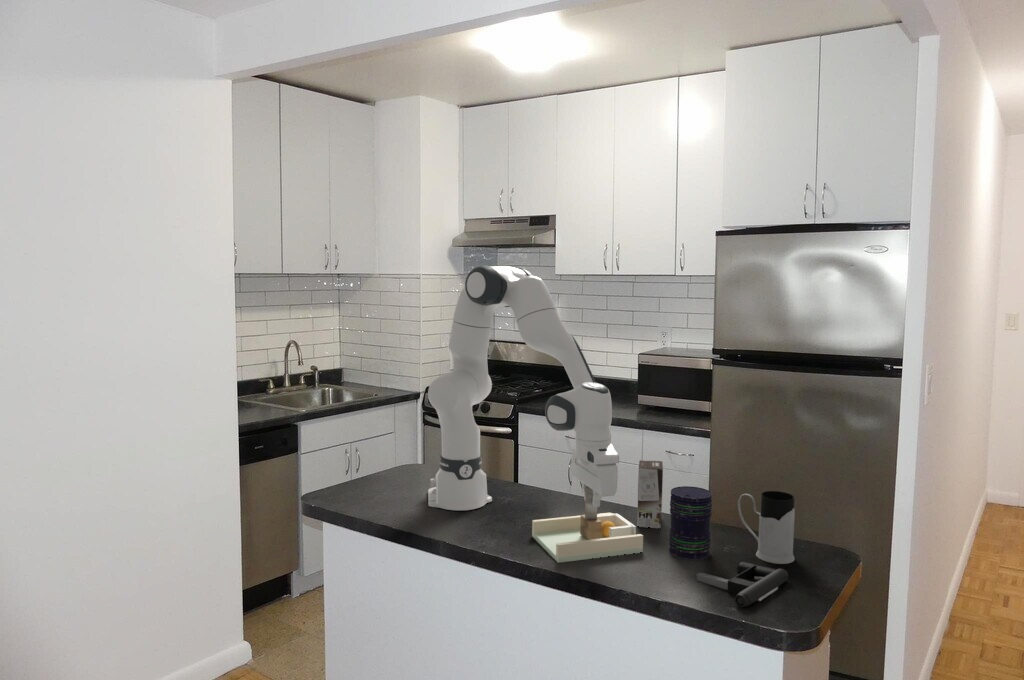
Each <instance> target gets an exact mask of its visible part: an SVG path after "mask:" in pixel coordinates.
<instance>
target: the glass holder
mask: <svg viewBox="0 0 1024 680" xmlns="http://www.w3.org/2000/svg"><path fill="white" fill-rule="evenodd" d="M760 495H761V496H760V512H759V511H757V504H756V503H757V502H756V499H755V498H754V497H753V495H752V494H749V493H743V494H741V495H740V496H739V497H738V500H737V510H738V515H739V518H740V519H741V522H742V524H743V525H744V526H745V528H746V529H747V531H748V532H749V533H750V534H751V535H752V536H753V537H754V539H755V540H756V541H757V545H758V546H757V551H756V553H755V556H756V557H757V558H758V559H759V560H762V561H763V562H767V563H771V564H776V565H777V564H778V565H782V564H783V565H785V564H786V565H787V564H790V563H793V562H794V561H795V560H796V559H795V556H794V536H795V534H794V533H795V512H796V509H795V496H794V495H793V494H792V493H787V492H785V491H779V490H778V491H776V490H768V491H762V492H761V494H760ZM743 496H748V498H750V499H751V500H752V503H753V511H754V513H755V514H757V515H759V516H758V517H759V518H758V519H759V521H758V523H759V524H758V536H757V535H756V533H755V532H754V531H753V530H752V529H751V528H750V527H749V525H748V524H747V522H746V521H745V519H744V517H743V514H742V510H741V498H742V497H743Z"/></svg>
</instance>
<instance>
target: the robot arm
mask: <svg viewBox="0 0 1024 680" xmlns="http://www.w3.org/2000/svg"><path fill="white" fill-rule="evenodd" d="M502 307H504V308H510V309H511V310H512V312H513V315H514V318H515V322H516V324H517V328H518V331H519V334H520V337H521V338H522V340H523V342H524V344H525V345H526V346H528V347H529V348H531V349H533V350H535V351H537V352H540V353H542V354H546V355H548V356H551V357H552V358H554V359H556V360H557V361H559V362H560V363H561V365H563V367H564V370H565V372H566V374H567V377H568V378H569V381H570V383H571V384H572V387H573V388H572V389H571V390H568V391H565V392H560V393H557V394H555V395H551V396H550V397H549V398H548V399H547V401H546V403H545V409H544V414H545V420H546V421H547V424H548V425H549V426H550V427H551V428H552V429H553V430H555V431H557V432H558V431H559V432H567V431H573V432H574V433H575V438H574V439H575V440H574V443H575V444H574V447H575V448H574V449H573V450H572V454H571V460H570V461H571V463H570V473H571V476H572V477H573V478H575V479H576V480H578V481H579V482H581V488H582V492H583V500H584V501H585V490H586V486H588V487H589V488H591V489H592V490H593V494H594V495H593V499H591V505H592V506H593V507H597V508H600V507H601V499H602V497H604V498H606V497H614V496H616V494H617V491H618V490H617V489H618V482H619V481H618V479H619V474H618V473H619V471H618V464H619V463H620V455H619V453H618V452H617V450H616V449H615V447H614V445H613V443H612V434H611V424H612V422H613V421H612V419H613V406H612V405H613V404H612V403H613V402H612V397H611V396H612V395H611V392H610V390H609V388H608V387H607V386H606V385H604V384H602V383H599V382H597V381H596V378H595V377H594V375H593V373H592V371H591V369H590V366H589V365H588V361H587V360H586V357H585V355H584V354H583V351H582V350H581V347H580V345H579V344H578V342H577V340H576V339H575V337H574V336H573V335H572V334H571V333H570V332H569V331H568V329H567V328H566V327H565V325H564V323H563V320H561V317H560V316H559V313H558V310H557V307H556V304H555V301H554V299H553V296H552V295H551V293H550V290H549V288H548V287H547V285H546V283H545V281H544V280H543V279H542V278H540V277H538V276H535V275H533V274H532V273H531V272H530V271H528V270H527V269H523V268H522V267H513V266H510V265H509V266H508V265H492V266H490V265H480V266H477V267H474V268H472V269H471V270H470V271H469V273H468V274H467V275H466V278H465V282H464V287H463V288H462V289H461V290H460V293H459V296H458V299H457V301H456V306H455V309H454V313H453V318H452V326H451V331H450V336H449V342H448V343H449V344H448V348H449V350H450V352H451V354H452V361H453V363H452V364H453V368H452V371H451V372H447V373H443V374H441V375H439V376H438V377H437V378H436V379H434V380H433V381H432V382H431V383H430V385H429V387H428V389H427V390H428V391H427V398H428V401H429V403H430V405H431V406H432V407H433V408H434V409H435V412H436V414H437V416H438V420H439V425H440V432H441V454H440V458H439V469H438V471H437V473H436V474H435V477H434V478H430V480H429V485H430V487H429V488H428V490H427V499H428V502H427V503H428V507H429V508H430V507H432V508H440V509H443V510H448V511H449V510H450V511H470V510H475V509H479V508H481V507H482V508H483V507H484V506H485V505H486V504H487V503H488V504H489V503H491V502H492V501H493V497H492V496H491V495H489V494H488V484H487V474H486V473H485V472H484V470H482V466H483V465H482V463H483V459H482V455H481V430H480V427H479V425H478V424H477V423H476V420H475V417H474V413H473V406H474V405H478V404H480V403H481V402H482V401H484V400H485V399H486V398H487V397H488V396H489V394H491V392H492V388H493V386H492V385H493V382H492V379H491V376H490V375H489V368H488V350H489V344H490V338H491V331H492V326H493V320H494V315H495V311H496V310H497V309H498V308H502Z"/></svg>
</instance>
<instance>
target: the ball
mask: <svg viewBox="0 0 1024 680" xmlns="http://www.w3.org/2000/svg"><path fill="white" fill-rule="evenodd" d="M609 527H616V526H615V525H614V523H612V522H610V521H606V522H603V523H602V527H601V534H602V535H603V536H604V537H607V538H609Z"/></svg>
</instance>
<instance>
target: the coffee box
mask: <svg viewBox="0 0 1024 680" xmlns="http://www.w3.org/2000/svg"><path fill="white" fill-rule="evenodd" d="M638 462H639V464H638V477H637V478H638V479H637V480H638V481H637V513H636V514H637V518H636V520H637V522H636V527H637V526H639V528H648V527H650V528H649V529H658V528H659V529H661V523H662V511H663V510H662V509H663V485H664V484H663V483H664V482H663V481H664V480H663V479H664V476H663V475H664V473H663V472H664V466H663V465H664V464H663V461H662V460H641V459H640V460H639V461H638Z"/></svg>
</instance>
